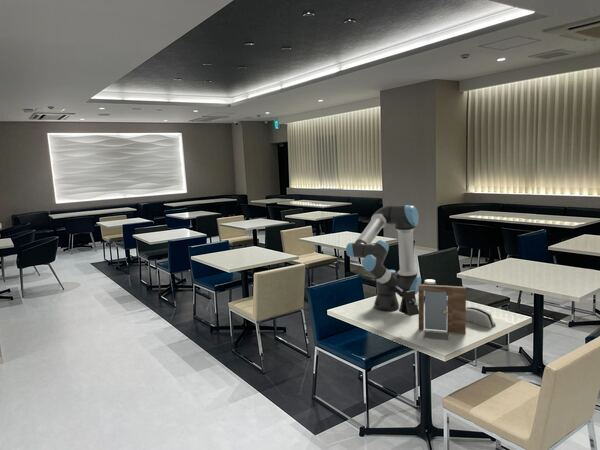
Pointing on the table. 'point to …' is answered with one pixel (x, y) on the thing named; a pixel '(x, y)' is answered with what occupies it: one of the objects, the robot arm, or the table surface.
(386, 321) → the table surface
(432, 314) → the door
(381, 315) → the table surface
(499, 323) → the table surface
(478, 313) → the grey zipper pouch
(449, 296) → the door frame
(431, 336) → the mat
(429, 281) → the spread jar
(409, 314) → the phone stand
